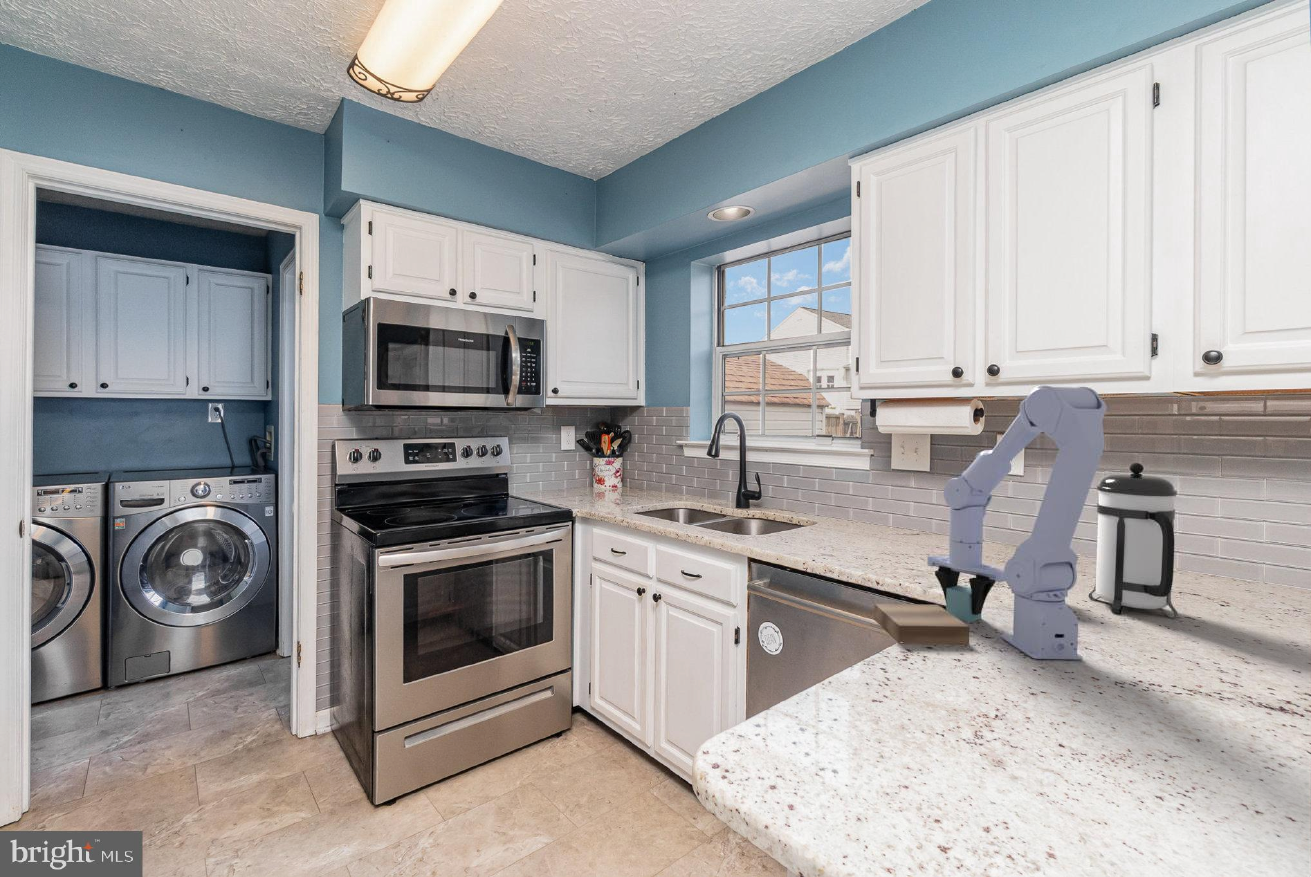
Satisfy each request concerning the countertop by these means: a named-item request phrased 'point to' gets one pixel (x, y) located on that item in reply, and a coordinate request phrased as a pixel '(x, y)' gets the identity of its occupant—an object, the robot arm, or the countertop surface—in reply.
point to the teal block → (960, 603)
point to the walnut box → (921, 624)
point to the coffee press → (1135, 541)
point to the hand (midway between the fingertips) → (963, 610)
